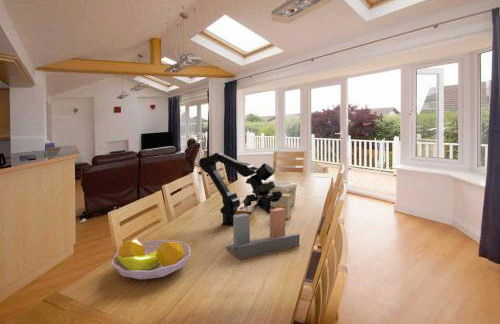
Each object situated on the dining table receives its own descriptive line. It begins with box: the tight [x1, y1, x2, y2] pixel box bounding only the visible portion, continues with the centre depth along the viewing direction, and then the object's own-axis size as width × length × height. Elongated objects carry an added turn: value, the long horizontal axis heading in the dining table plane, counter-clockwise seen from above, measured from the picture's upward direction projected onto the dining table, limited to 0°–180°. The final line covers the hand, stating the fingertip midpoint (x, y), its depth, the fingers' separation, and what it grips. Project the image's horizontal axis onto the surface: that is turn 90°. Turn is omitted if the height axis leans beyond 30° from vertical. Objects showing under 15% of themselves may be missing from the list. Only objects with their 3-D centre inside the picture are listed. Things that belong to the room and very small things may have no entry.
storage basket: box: [262, 178, 298, 208], centre depth 192 cm, size 24×16×15 cm
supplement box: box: [274, 194, 292, 220], centre depth 164 cm, size 8×5×13 cm, turn 58°
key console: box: [225, 232, 301, 261], centre depth 124 cm, size 13×28×5 cm, turn 118°
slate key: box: [232, 213, 251, 248], centre depth 122 cm, size 3×6×13 cm, turn 118°
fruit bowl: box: [111, 238, 192, 280], centre depth 104 cm, size 28×27×11 cm
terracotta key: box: [269, 208, 286, 238], centre depth 130 cm, size 3×6×13 cm, turn 118°
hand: (269, 213), depth 135 cm, fingers closed
